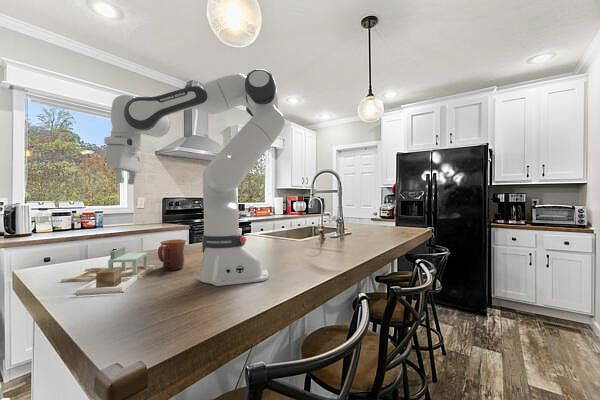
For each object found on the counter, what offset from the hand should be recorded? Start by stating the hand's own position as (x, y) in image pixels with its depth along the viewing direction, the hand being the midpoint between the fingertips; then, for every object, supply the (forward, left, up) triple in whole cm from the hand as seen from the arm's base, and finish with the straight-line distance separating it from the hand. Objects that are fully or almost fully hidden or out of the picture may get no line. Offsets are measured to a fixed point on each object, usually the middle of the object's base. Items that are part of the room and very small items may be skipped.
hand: (126, 183), depth 97 cm
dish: (-2, +17, -31) cm, 35 cm away
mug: (-14, -2, -31) cm, 34 cm away
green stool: (-2, +3, -30) cm, 31 cm away
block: (-2, +17, -30) cm, 35 cm away
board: (+3, +3, -31) cm, 31 cm away
